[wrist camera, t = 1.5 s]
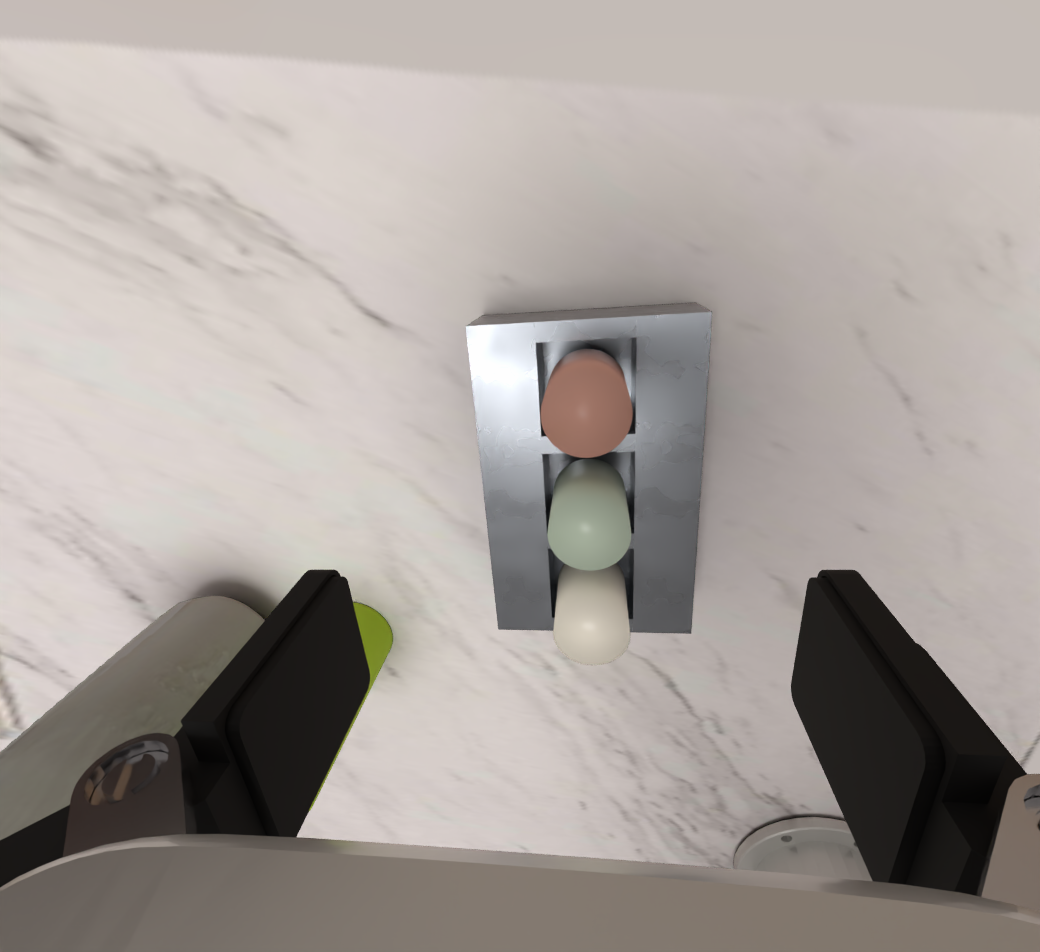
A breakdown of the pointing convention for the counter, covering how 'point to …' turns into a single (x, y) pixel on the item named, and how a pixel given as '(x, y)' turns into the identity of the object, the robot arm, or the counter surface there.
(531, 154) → the counter surface
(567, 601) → the cream rounded cylinder
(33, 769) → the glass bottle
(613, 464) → the gray socket block
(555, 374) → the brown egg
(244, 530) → the counter surface
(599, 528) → the green piece
